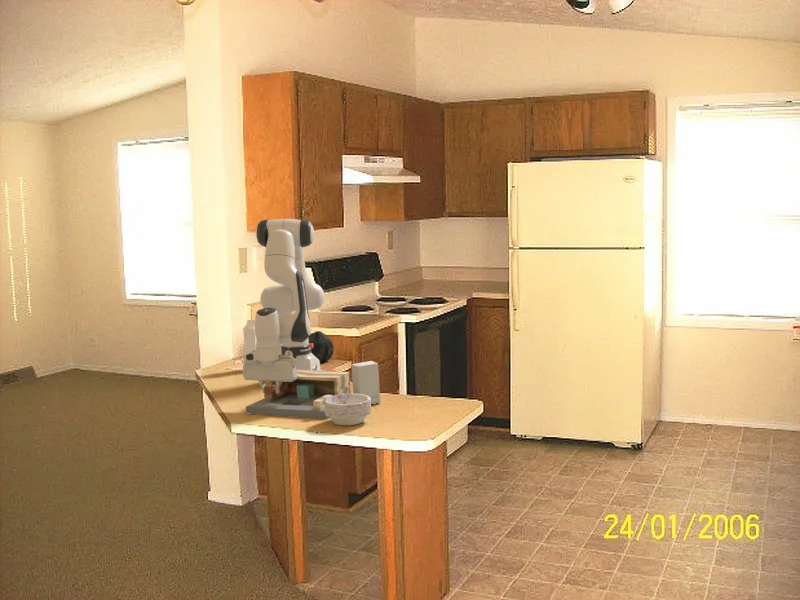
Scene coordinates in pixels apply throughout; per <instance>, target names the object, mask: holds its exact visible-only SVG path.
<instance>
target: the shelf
mask: <svg viewBox="0 0 800 600" xmlns="http://www.w3.org/2000/svg"><path fill="white" fill-rule="evenodd" d="M350 374H351V373H350V371H336V370H335V371H334V370H332V371H331V370H325V371H314V370H297V379H296V380H295V381H293V382H306V383H314V393H334V394H335V395H339V394H352V393H351V391H352V390H351V375H350ZM268 384H269V385H272V384H276V381H268Z"/></svg>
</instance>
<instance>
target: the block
mask: <svg viewBox="0 0 800 600" xmlns="http://www.w3.org/2000/svg"><path fill="white" fill-rule="evenodd" d="M313 396H314V383H301V384H299V385H297V398H307V399H309V398H311V397H313Z"/></svg>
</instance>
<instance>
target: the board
mask: <svg viewBox="0 0 800 600" xmlns="http://www.w3.org/2000/svg"><path fill="white" fill-rule="evenodd" d="M324 395H333V396H334V395H335V394H334V393H314V396H313V397H311V398H309V399H307V398H297V393H289V394H285V395H282V396H278V397H274V398H262V399H260V400H257V401H255V402H253V403H250V404H248V405H246V406H245V414H246V413H250V414H249V415H258V414H262V415H263V416H275V415H276V416H277V417H289V416H292V417H291V418H306V417H307V418H309V419H323V420H326V419H329V417H327V416H326V415H325V408H324V409H322V410H314V407H313V401H315V400H317V399H319V398H321V397H323V396H324ZM293 416H294V417H293Z"/></svg>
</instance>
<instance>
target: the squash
mask: <svg viewBox="0 0 800 600" xmlns="http://www.w3.org/2000/svg"><path fill="white" fill-rule="evenodd" d="M308 340H309V343H310V344H311V343H313V344H314V347H313V348H311V351H312V352H311V353H312V354H313V355H314V356H315V357H316V358H317V359H319V361H320V363H325V362H327V361H329V360H331V358H332V357H333V355H334V351H335V347H334V344H333V341H332V340H331V339H330V337H329V336H328V335H327V334H325V333H324V332H323V331H320V330H318V331H317V330H316V331H314V332H311V335H310V336H309V337H308Z"/></svg>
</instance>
